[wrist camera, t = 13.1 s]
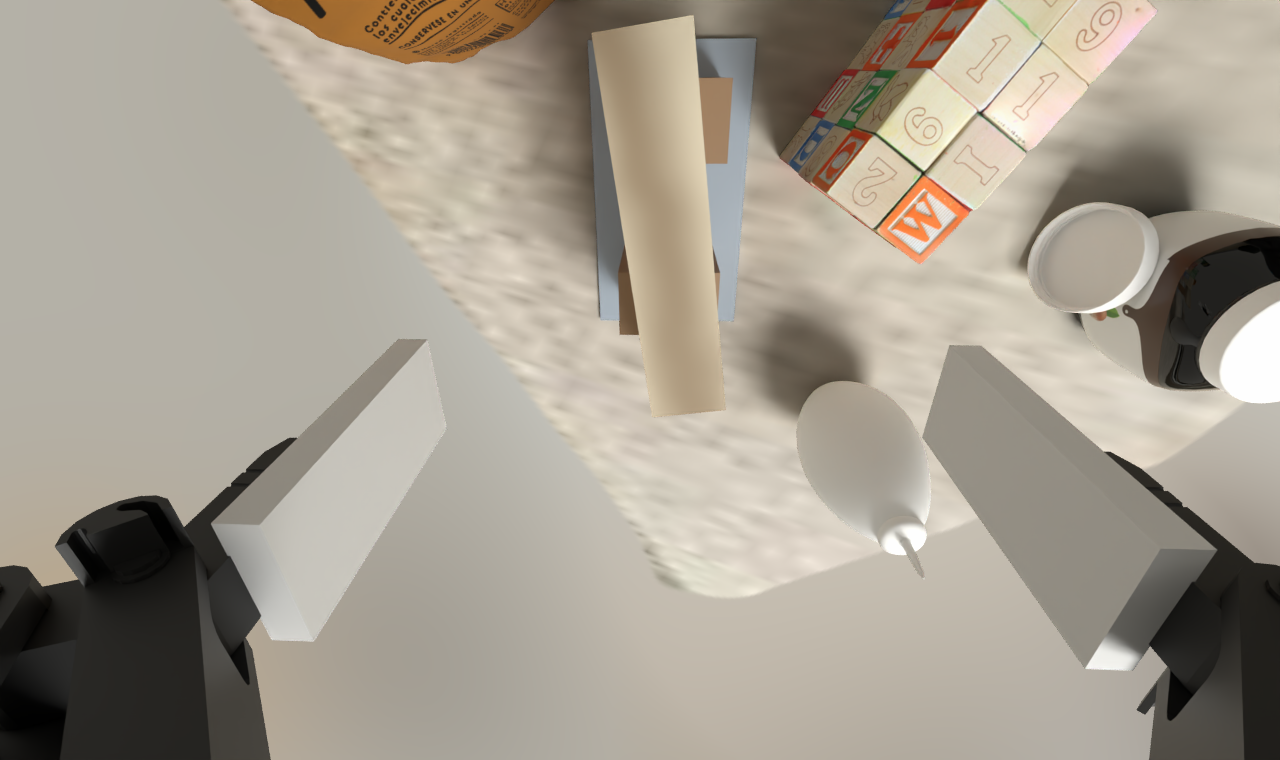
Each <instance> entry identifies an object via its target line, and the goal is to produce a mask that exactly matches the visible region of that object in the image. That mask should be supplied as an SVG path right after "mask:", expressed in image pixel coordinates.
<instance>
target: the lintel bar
mask: <svg viewBox="0 0 1280 760" xmlns="http://www.w3.org/2000/svg"><path fill="white" fill-rule="evenodd" d="M591 34H592V41H593V47H594V53H595V60H596V66H597V72H598V79H599V85H600V91H601V97H602V104H603V110H604V116H605V123H606V129H607V135H608V142H609V148H610V154H611V160H612V167H613V173H614V179H615V186H616V192H617V198H618V205H619V211H620V217H621V223H622V230H623V236H624V242H625V249H626V255H627V261H628V268H629V274H630V280H631V286H632V293H633V299H634V305H635V312H636V318H637V324H638V331H639V337H640V343H641V349H642V356H643V362H644V368H645V375H646V381H647V387H648V394H649V400H650V406H651V412H652V417H661V416H671V415H681V414H691V413H701V412H711V411H721V410H726V408H725V395H724V383H723V371H722V358H721V346H720V334H719V322H718V309H717V297H716V285H715V272H714V260H713V248H712V236H711V223H710V211H709V199H708V186H707V174H706V162H705V150H704V137H703V125H702V113H701V100H700V88H699V76H698V63H697V51H696V39H695V27H694V15H690V16H684V17H679V18H673V19H667V20H662V21H656V22H650V23H644V24H639V25H633V26H627V27H622V28H616V29H610V30H605V31H599V32H593V33H591Z"/></svg>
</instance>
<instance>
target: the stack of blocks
mask: <svg viewBox="0 0 1280 760" xmlns="http://www.w3.org/2000/svg"><path fill="white" fill-rule="evenodd" d="M1157 12H1158V10H1157V9H1156V8H1155V7H1154V6H1153V5H1152V4H1151V3H1150V2H1149V1H1148V0H897V1H896V3H895V4H894V5H893V7H892V8H891V9H890V11H889V12H888V13H887V15H886V16H885V18H884V20H883V21H882V22H881V24H880V25H879V26H878V27H877V29H876V30H875V31H874V33H873V34H872V35H871V37H870V38H869V39H868V41H867V42H866V43H865V45H864V46H863V48H862V49H861V50H860V52H859V53H858V54H857V56H856V57H855V58H854V60H853V61H852V62H851V64H850V65H849V67H848V68H847V69H846V70H844V71H843V73H842V74H841V75H840V77H839V78H838V79H837V80H836V82H835V83H834V84H833V86H832V87H831V89H830V90H829V91H828V93H827V94H826V95H825V97H824V98H823V99H822V101H821V102H820V103H819V105H818V106H817V107H816V109H815V110H814V111H813V113H812V114H811V116H810V117H809V118H808V119H807V120H806V121H805V123H804V124H803V125H802V127H801V128H800V129H799V131H798V132H797V133H796V135H795V136H794V137H793V139H792V140H791V141H790V143H789V144H788V145H787V147H786V148H785V149H784V151H783V152H782V153H781V155H780V159H781V160H783V161H784V162H785V163H787V164H788V165H789V166H791V167H792V168H793V169H794V170H795V171H796V172H797V173H799V176H801V177H802V178H803V179H804V180H805V181H806V182H808V183H809V184H811V185H812V186H813V187H815V188H816V189H818V190H819V191H820V192H822V193H823V194H824V195H826V196H827V197H828V198H830V199H831V200H832V201H834V202H835V203H836V204H837V205H839V206H840V207H841V208H843V209H844V210H845V211H847V212H848V213H849V214H851V215H852V216H853V217H854V218H856V219H857V220H858V221H860V222H861V223H862V224H864V225H865V226H867V227H868V228H869V229H871V230H872V231H874V232H875V233H876V234H878V235H879V236H881V237H882V238H883V239H885V240H886V241H887V242H889V243H890V244H891V245H893V246H894V247H897V248H898V249H900V250H901V251H902V252H904V253H905V254H906V255H907V256H909V257H910V258H911V259H913V260H914V261H915V262H917V263H919V264H922V263H923V262H924V261H925V260H926V259H927V258H928V257H929V256H930V255H931V254H932V253H933V252H934V251H935V250H936V249H937V248H938V247H939V245H940V244H941V243H942V242H943V241H944V240H945V239H946V238H947V237H948V236H949V235H950V234H951V233H952V232H953V231H954V230H955V229H956V227H957V226H958V225H959V224H960V223H961V222H962V221H963V220H964V219H965V218H966V217H967V216H968V214H969V212H970V211H972V210H975V209H977V208H979V206H980V205H981V204H982V203H983V202H984V201H985V200H986V199H987V198H988V197H989V196H990V195H991V194H992V192H993V191H994V190H995V189H996V188H997V187H998V186H999V185H1000V184H1001V183H1002V181H1003V180H1004V179H1005V178H1006V177H1007V176H1008V175H1009V174H1010V173H1011V172H1012V171H1013V170H1014V168H1015V167H1016V166H1017V165H1018V164H1019V163H1020V162H1021V161H1022V160H1023V158H1024V157H1025V156H1026V151H1029V150H1031V149H1033V148H1035V147H1036V146H1037V145H1038V143H1039V142H1040V141H1041V140H1042V139H1043V138H1044V137H1045V136H1046V135H1047V134H1048V133H1049V131H1050V130H1051V129H1052V128H1053V127H1054V126H1055V125H1056V124H1057V123H1058V122H1059V121H1060V120H1061V118H1062V117H1063V116H1064V115H1065V114H1066V113H1067V112H1068V111H1069V110H1070V109H1071V107H1072V106H1073V105H1074V104H1075V103H1076V102H1077V101H1078V100H1079V99H1080V98H1081V97H1082V96H1083V95H1084V93H1085V92H1086V90H1087V88H1088V86H1089V84H1091V83H1092V82H1094V81H1095V80H1096V79H1097V78H1098V77H1099V76H1100V75H1101V74H1102V73H1103V72H1104V70H1105V69H1106V68H1107V67H1108V66H1109V65H1110V64H1111V63H1112V62H1113V61H1114V60H1115V58H1116V57H1117V56H1118V55H1119V54H1120V53H1121V52H1122V51H1123V50H1124V49H1125V48H1126V47H1127V45H1128V44H1129V43H1130V42H1131V41H1132V40H1133V39H1134V38H1135V37H1136V36H1137V35H1138V33H1139V32H1140V31H1141V30H1142V29H1143V28H1144V27H1145V26H1146V24H1147V23H1148V22H1149V21H1150V20H1151V19H1152V18H1153V17H1154V16H1155V15H1156V13H1157Z"/></svg>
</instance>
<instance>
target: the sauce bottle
mask: <svg viewBox="0 0 1280 760" xmlns="http://www.w3.org/2000/svg"><path fill="white" fill-rule="evenodd" d="M796 437H797V449H798V454H799V458H800V461H801V464H802V468H803V470H804V473H805V475H806V477H807V479H808V481H809V483H810V484H811V486H812V487H813V489H814V490H815V492H816V494H817V495H818V497H819V498H820V499H821V500H822V502H823V503H824V504H825V505H826V506H827V508H828V509H829V510H830V511H831V512H832V513H833V514H835V515H836V516H837V517H838V518H839V519H840V520H841V521H843V522H844V523H845V524H846V525H847V526H849V527H850V528H851V529H853V530H854V531H856V532H857V533H859V534H861V535H863V536H864V537H866V538H868V539H871V540H873V541H876V542H878V543H879V544H880V546H881V548H883V549H884V550H885V551H887V552H888V553H891V554H896V555H906V554H907V556H908V558H909V560H910V561H911V563H912V564H913V566H914V568H915V570H916V571H917V573H918V574H919V575H920V576H921V577H922V578H923V579H925V574H924V571H923V568H922V566H921V563H920V561H919V559H918V557H917V554H916V552H915V551H917V550H918V549H919V548H920V547H922V545H923V544H924V542H925V540H926V536H927V532H926V528H925V526H924V525H925V523H926V520H927V517H928V513H929V509H930V500H931V478H930V470H929V464H928V459H927V455H926V451H925V448H924V445H923V443H922V440H921V438H920V436H919V434H918V432H917V430H916V428H915V426H914V424H913V423H912V421H911V419H910V418H909V417H908V415H907V414H906V413H905V412H904V410H903V409H902V408H901V407H900V406H899V405H898V404H897V403H896V402H895V401H894V400H893V399H891V398H890V397H889V396H887V395H886V394H884V393H882V392H881V391H879V390H877V389H875V388H873V387H871V386H868V385H865V384H862V383H857V382H851V381H836V382H830V383H827V384H824V385H822V386H820V387H818V388H817V389H816V390H814V391H813V392H812V394H811V395H810V396H809V397H808V398H807V400H806V402H805V403H804V405H803V407H802V410H801V412H800V415H799V419H798V424H797V431H796Z"/></svg>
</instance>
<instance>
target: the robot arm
mask: <svg viewBox="0 0 1280 760" xmlns="http://www.w3.org/2000/svg"><path fill="white" fill-rule="evenodd" d="M446 429H447V427H446V423H445V418H444V413H443V409H442V404H441V400H440V395H439V390H438V386H437V381H436V377H435V372H434V368H433V363H432V358H431V354H430V349H429V345H428V340H421V339H398V340H397V341H396V342H395V343H394V344H393V345H392V346H391V347H390V348H389V349H388V350H387V351H386V352H385V353H384V354H383V355H382V356H381V357H380V358H379V359H378V360H377V361H376V362H375V363H374V364H373V365H372V366H371V367H369V369H367V370H366V371H365V373H363V374H362V375H361V376H360V377H359V378H358V379H357V380H356V381H355V382H354V383H353V384H352V385H351V386H350V387H349V388H348V389H347V390H346V391H345V392H344V393H343V394H342V395H341V396H340V397H339V398H338V399H337V400H336V401H335V402H334V403H333V404H332V405H331V406H330V407H329V408H328V409H327V410H326V411H325V412H324V413H323V414H322V415H321V416H320V417H319V418H318V419H317V420H316V421H315V422H314V423H313V424H312V425H310V426H309V427H308V428H307V430H305V431H304V432H303V433H302V434H301V435H300V437H298V438H288V439H286V440H285V441H283V442H281V443H279V444H278V445H276V446H274V447H272V448H271V449H269V450H267V451H265V452H264V453H263V454H262V455H261V456H260V457H259V458H258V459H257V460H256V461H254V462H253V463H252V464H251V465H250V466H249V467H248V468H247V469H246V473H242V474H241V475H239V476H238V477H237V478H236V479H235V480H234V481H233V482H232V483H231V487H227V488H225V489H224V490H223V491H222V492H221V493H220V494H219V495H218V496H217V497H216V498H215V499H214V500H213V501H212V502H211V503H209V505H207V506H206V507H205V508H204V509H203V510H202V511H201V512H200V513H199V514H198V515H197V516H196V517H195V518H193V519H192V521H190V522H189V523H188V524H187V525H186V526H185V527H183V525H182V523H181V521H180V520H179V518H178V516H177V514H176V512H175V511H174V509H173V507H172V505H171V504H170V502H169V500H168V499H166V498H163V497H160V496H139V497H134V498H131V499H126V500H122V501H118V502H116V503H113V504H111V505H108V506H106V507H103V508H101V509H98V510H96V511H95V512H93V513H91V514H89V515H87V516H86V517H84V518H82V519H81V520H79V521H77V522H76V523H75V524H73V525H72V526H71V527H70V528H69V529H68V530H66V531H65V532H64V533H63V534H62V535H61V537H60V538H59V540H58V542H57V543H56V545H55V547H56V549H57V550H58V552H59V553H60V554H61V556H62V557H63V558H64V560H65V561H66V563H67V564H68V565H69V567H70V568H71V569H72V571H73V572H74V574H75V575H76V576H77V578H78V579H79V580H74V581H69V582H64V583H59V584H54V585H49V586H44V587H42V586H41V584H40V583H39V582H38V581H37V579H36V578H35V577H34V576H33V574H32V573H31V572H30V571H29V569H28V568H27V567H21V566H14V565H13V566H6V567H0V760H271V759H270V753H269V747H268V741H267V735H266V729H265V723H264V717H263V711H262V705H261V699H260V693H259V688H258V681H257V676H256V669H255V664H254V658H253V652H252V648H251V647H250V645H249V643H248V641H247V640H246V638H245V637H246V636H247V635H248V633H249V632H250V631H251V629H252V628H253V627H254V625H255V624H256V623H257V621H258V620H259V619H260V618H261V621H262V622H263V624H264V626H265V628H266V630H267V632H268V634H269V636H270V638H271V640H285V641H315V639H316V637H317V636H318V634H319V633H320V631H321V629H322V628H323V626H324V625H325V623H326V621H327V620H328V618H329V616H330V615H331V613H332V612H333V610H334V609H335V607H336V605H337V604H338V602H339V601H340V599H341V597H342V596H343V594H344V593H345V591H346V589H347V588H348V586H349V585H350V583H351V581H352V580H353V578H354V576H355V575H356V573H357V572H358V570H359V568H360V567H361V565H362V564H363V562H364V560H365V559H366V557H367V555H368V554H369V552H370V551H371V549H372V548H373V546H374V544H375V543H376V541H377V539H378V538H379V536H380V535H381V533H382V532H383V530H384V528H385V527H386V525H387V524H388V522H389V520H390V519H391V517H392V516H393V514H394V512H395V511H396V509H397V508H398V506H399V504H400V503H401V501H402V499H403V498H404V496H405V495H406V493H407V491H408V490H409V488H410V487H411V485H412V483H413V482H414V480H415V479H416V477H417V475H418V474H419V472H420V471H421V469H422V467H423V466H424V464H425V462H426V461H427V459H428V458H429V456H430V455H431V453H432V451H433V450H434V448H435V447H436V445H437V443H438V442H439V440H440V439H441V436H442V435H443V434H444V432H445V431H446ZM923 439H924V440H925V442H926V443H927V445H928V446H929V447H930V449H931V450H932V452H933V453H934V455H935V456H936V457H937V459H938V460H939V462H940V463H941V465H942V466H943V467H944V469H945V470H946V472H947V473H948V474H949V476H950V477H951V479H952V480H953V482H954V483H955V484H956V486H957V487H958V489H959V490H960V492H961V493H962V494H963V496H964V497H965V499H966V500H967V502H968V503H969V504H970V506H971V507H972V509H973V510H974V512H975V513H976V514H977V516H978V517H979V519H980V520H981V521H982V523H983V524H984V526H985V527H986V529H987V530H988V531H989V533H990V534H991V536H992V537H993V539H994V540H995V541H996V543H997V544H998V546H999V547H1000V549H1001V550H1002V551H1003V553H1004V554H1005V556H1006V557H1007V558H1008V560H1009V561H1010V563H1011V564H1012V565H1013V567H1014V568H1015V570H1016V571H1017V573H1018V574H1019V576H1020V577H1021V578H1022V580H1023V581H1024V583H1025V584H1026V586H1027V587H1028V588H1029V590H1030V591H1031V592H1032V594H1033V596H1034V597H1035V598H1036V600H1037V601H1038V603H1039V604H1040V605H1041V607H1042V608H1043V610H1044V611H1045V613H1046V614H1047V615H1048V617H1049V618H1050V620H1051V621H1052V623H1053V624H1054V625H1055V627H1056V628H1057V630H1058V631H1059V632H1060V634H1061V635H1062V637H1063V638H1064V640H1065V641H1066V642H1067V644H1068V645H1069V647H1070V648H1071V649H1072V651H1073V652H1074V654H1075V655H1076V657H1077V658H1078V660H1079V661H1080V662H1081V664H1082V665H1083V667H1084V668H1085V669H1104V670H1134V668H1135V667H1136V665H1137V664H1138V662H1139V661H1140V660H1141V658H1142V657H1143V655H1144V654H1145V653H1146V651H1147V650H1148V648H1149V647H1150V646H1151V647H1152V649H1153V650H1154V651H1155V652H1156V653H1157V655H1158V656H1159V657H1160V658H1161V659H1162V660H1163V662H1164V663H1165V664H1166V665H1167V666H1168V667H1167V668H1166V669H1165V671H1164V672H1163V673H1162V675H1161V676H1160V677H1159V679H1158V680H1157V681H1156V683H1155V684H1154V685H1153V687H1152V688H1151V689H1150V691H1149V692H1148V693H1147V695H1146V696H1145V697H1144V699H1143V700H1142V701H1141V703H1140V705H1139V707H1138V708H1137V711H1139V712H1141V713H1143V714H1146V713H1147V712H1148V710H1149V709H1150V708H1151V707H1152V706H1155V710H1154V720H1153V729H1152V738H1151V748H1150V758H1149V760H1280V566H1277V565H1270V564H1261V563H1254V562H1253V561H1251V560H1250V559H1249V558H1248V557H1246V556H1245V555H1244V554H1243V553H1242V552H1240V551H1239V550H1238V549H1237V548H1235V546H1233V545H1232V544H1231V543H1230V542H1228V541H1227V540H1226V539H1225V538H1224V537H1223V536H1221V535H1220V534H1219V533H1218V532H1217V531H1215V530H1214V529H1213V528H1212V527H1210V526H1209V525H1208V524H1207V523H1205V522H1204V521H1203V520H1202V519H1201V518H1200V517H1198V516H1197V515H1196V514H1195V513H1194V512H1192V511H1191V510H1190V509H1189V508H1187V507H1183V506H1182V502H1180V501H1179V500H1178V499H1176V497H1174V496H1173V495H1172V494H1171V493H1170V492H1168V491H1164V490H1163V487H1162V486H1161V485H1160V484H1159V483H1158V482H1156V481H1155V480H1154V479H1153V478H1151V477H1150V476H1149V475H1148V474H1147V473H1146V472H1144V471H1143V470H1142V469H1141V468H1139V467H1137V466H1135V465H1134V464H1132V463H1130V462H1128V461H1126V460H1124V459H1123V458H1121V457H1119V456H1117V455H1115V454H1113V453H1112V452H1103V451H1102V450H1101V449H1100V448H1099V447H1098V446H1097V445H1095V444H1094V443H1093V442H1092V441H1091V440H1090V439H1088V438H1087V437H1086V436H1085V435H1084V434H1083V433H1081V432H1080V431H1079V430H1078V429H1077V428H1076V427H1075V426H1073V425H1072V424H1071V423H1070V422H1069V421H1068V420H1066V419H1065V418H1064V417H1063V416H1062V415H1061V414H1060V413H1058V412H1057V411H1056V410H1055V409H1054V408H1053V407H1051V406H1050V405H1049V404H1048V403H1047V402H1046V401H1044V400H1043V399H1042V398H1041V397H1040V396H1039V395H1038V394H1036V393H1035V392H1034V391H1033V390H1032V389H1031V388H1029V387H1028V386H1027V385H1026V384H1025V383H1024V382H1023V381H1021V380H1020V379H1019V378H1018V377H1017V376H1016V375H1014V374H1013V373H1012V372H1011V371H1010V370H1009V369H1007V368H1006V367H1005V366H1004V365H1003V364H1002V363H1001V362H999V361H998V360H997V359H996V358H995V357H994V356H992V355H991V354H990V353H989V352H988V351H987V350H986V349H984V348H983V347H982V346H954V345H949V349H948V352H947V355H946V359H945V362H944V366H943V369H942V372H941V376H940V379H939V383H938V386H937V389H936V393H935V396H934V399H933V403H932V406H931V410H930V413H929V416H928V420H927V423H926V426H925V430H924V433H923Z"/></svg>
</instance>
